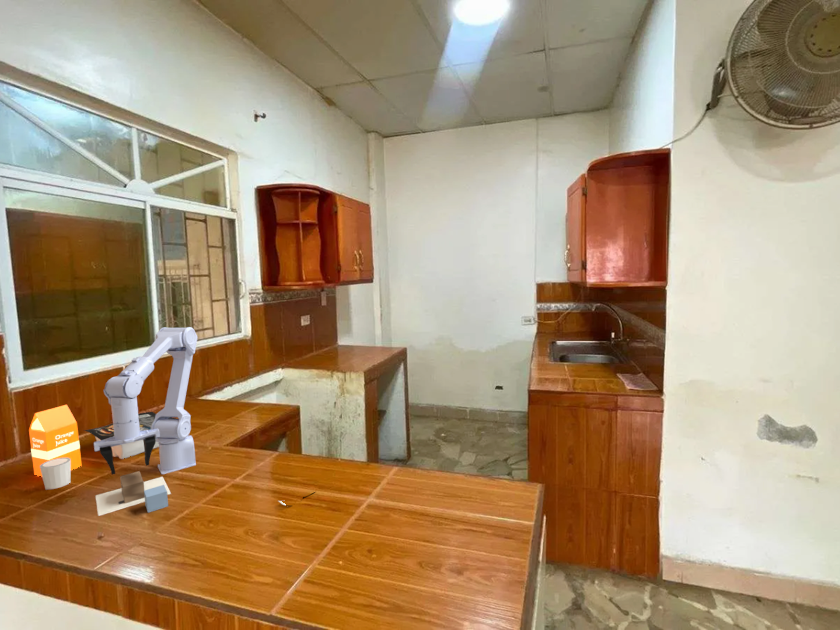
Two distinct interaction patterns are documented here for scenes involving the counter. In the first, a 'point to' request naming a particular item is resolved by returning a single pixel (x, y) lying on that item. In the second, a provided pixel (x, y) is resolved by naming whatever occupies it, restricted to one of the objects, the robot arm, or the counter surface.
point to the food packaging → (128, 448)
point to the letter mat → (116, 501)
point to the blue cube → (156, 498)
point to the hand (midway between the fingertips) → (130, 468)
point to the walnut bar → (132, 487)
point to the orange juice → (54, 437)
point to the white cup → (56, 472)
